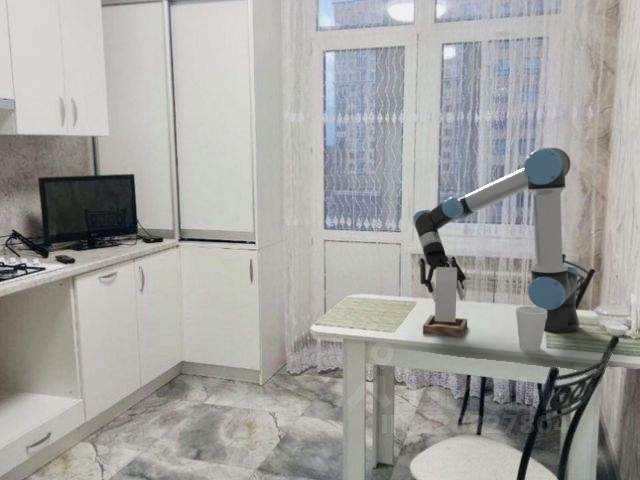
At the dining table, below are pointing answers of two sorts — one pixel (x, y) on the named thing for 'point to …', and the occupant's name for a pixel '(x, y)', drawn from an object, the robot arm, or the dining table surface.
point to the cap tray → (445, 327)
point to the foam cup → (530, 327)
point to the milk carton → (446, 294)
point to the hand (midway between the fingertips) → (449, 298)
